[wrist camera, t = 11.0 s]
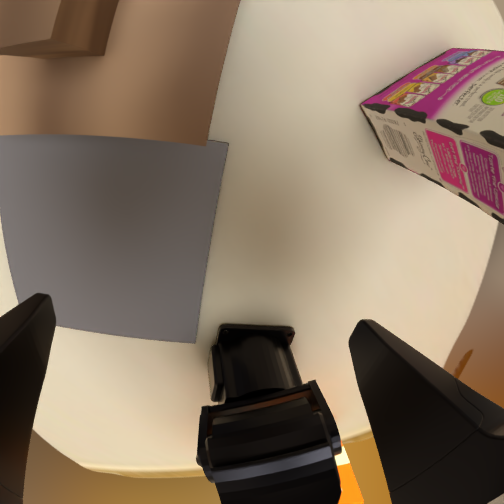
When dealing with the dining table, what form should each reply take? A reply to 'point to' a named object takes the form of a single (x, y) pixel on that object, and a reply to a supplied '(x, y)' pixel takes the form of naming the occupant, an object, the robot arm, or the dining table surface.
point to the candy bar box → (448, 124)
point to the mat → (111, 229)
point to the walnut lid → (113, 67)
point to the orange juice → (347, 481)
